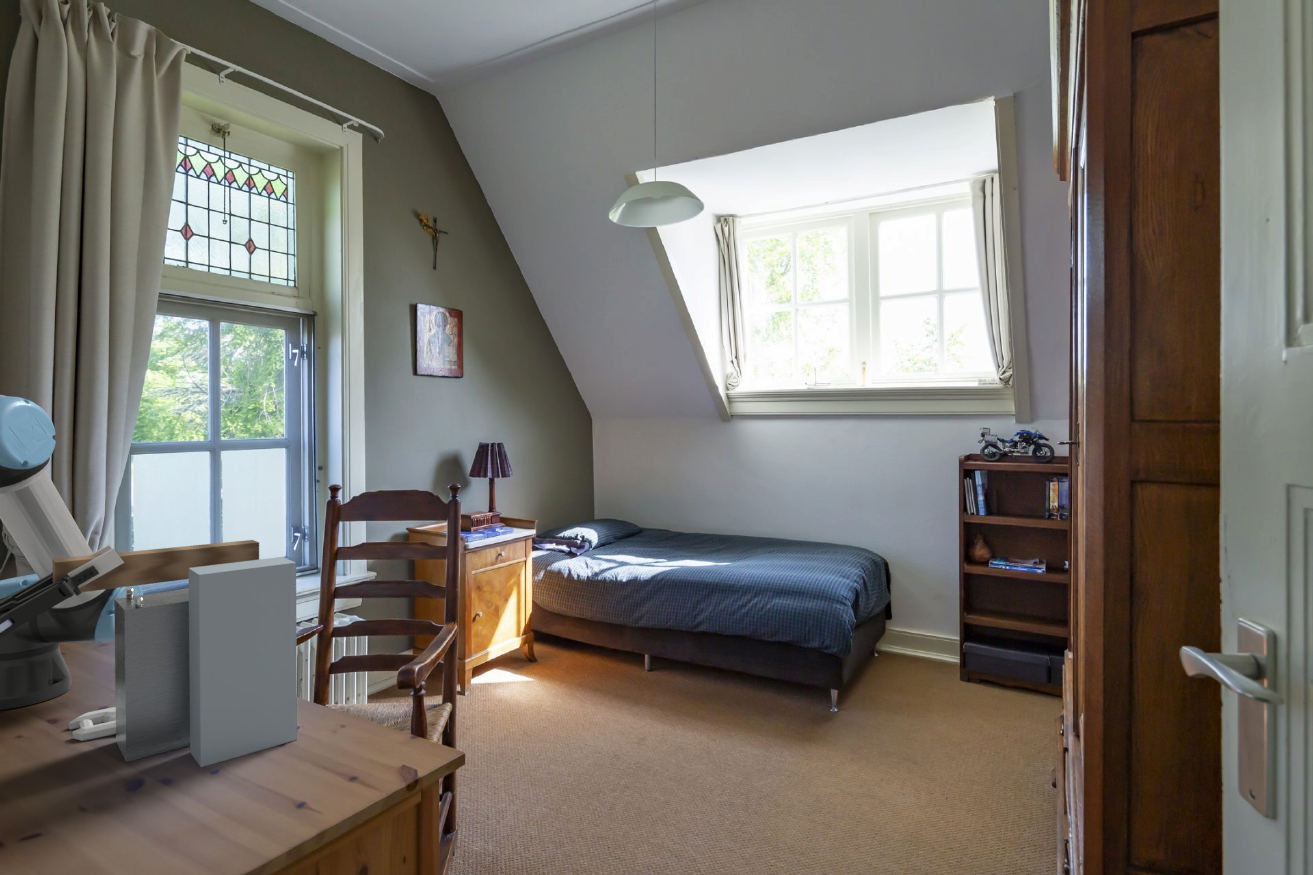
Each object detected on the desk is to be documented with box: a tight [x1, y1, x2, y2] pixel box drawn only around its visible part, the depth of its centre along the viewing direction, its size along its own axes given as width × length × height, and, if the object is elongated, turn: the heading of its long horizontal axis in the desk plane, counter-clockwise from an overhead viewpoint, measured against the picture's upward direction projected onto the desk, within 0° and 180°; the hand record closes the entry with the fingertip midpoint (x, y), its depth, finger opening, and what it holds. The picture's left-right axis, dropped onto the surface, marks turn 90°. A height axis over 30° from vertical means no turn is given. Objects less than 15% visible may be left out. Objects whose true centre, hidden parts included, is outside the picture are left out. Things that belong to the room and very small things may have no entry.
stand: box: [188, 556, 298, 768], centre depth 118 cm, size 7×14×30 cm, turn 134°
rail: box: [53, 539, 260, 592], centre depth 120 cm, size 28×4×5 cm, turn 134°
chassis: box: [114, 588, 190, 763], centre depth 122 cm, size 10×16×26 cm, turn 134°
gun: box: [68, 706, 116, 742], centre depth 127 cm, size 18×3×10 cm
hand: (115, 553), depth 115 cm, fingers closed on rail, 4 cm apart
